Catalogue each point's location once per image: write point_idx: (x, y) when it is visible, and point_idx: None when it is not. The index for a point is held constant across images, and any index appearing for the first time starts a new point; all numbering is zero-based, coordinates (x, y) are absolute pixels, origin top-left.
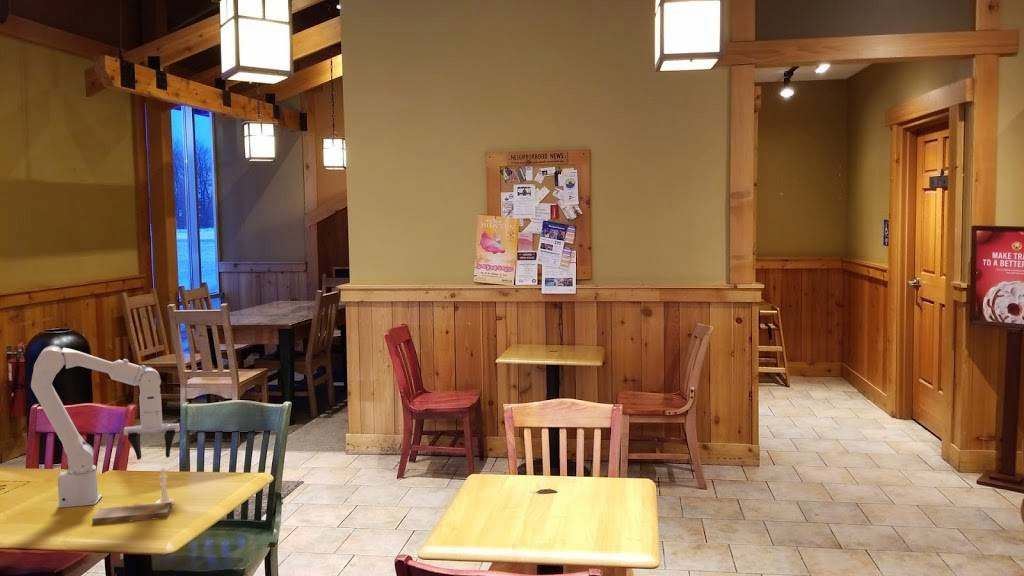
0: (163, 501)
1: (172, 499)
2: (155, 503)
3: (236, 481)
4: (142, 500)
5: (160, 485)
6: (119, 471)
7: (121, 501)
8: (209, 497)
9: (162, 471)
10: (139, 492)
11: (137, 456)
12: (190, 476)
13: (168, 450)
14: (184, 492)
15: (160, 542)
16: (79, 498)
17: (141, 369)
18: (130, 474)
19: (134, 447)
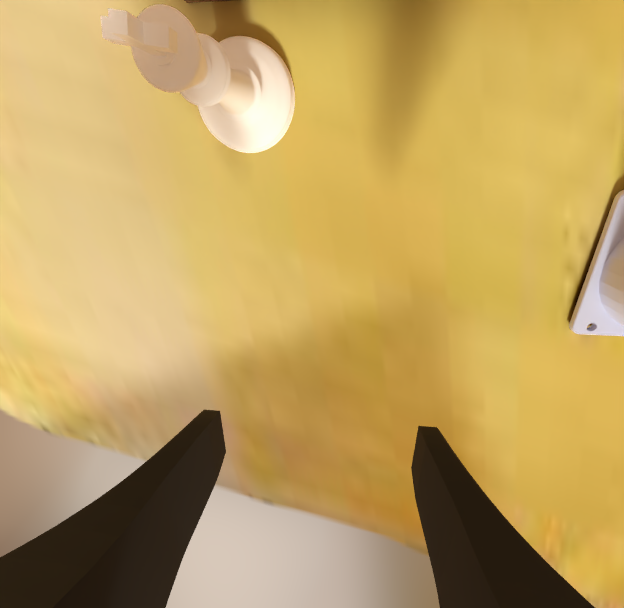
0: (238, 59)
1: (204, 109)
2: (287, 74)
3: (40, 346)
4: (373, 201)
5: (218, 45)
6: None
7: (477, 216)
8: (57, 153)
9: (140, 22)
10: (400, 329)
11: (443, 444)
12: (234, 451)
13: (164, 446)
14: (200, 269)
15: None
16: None
17: None
18: None
19: (505, 533)
